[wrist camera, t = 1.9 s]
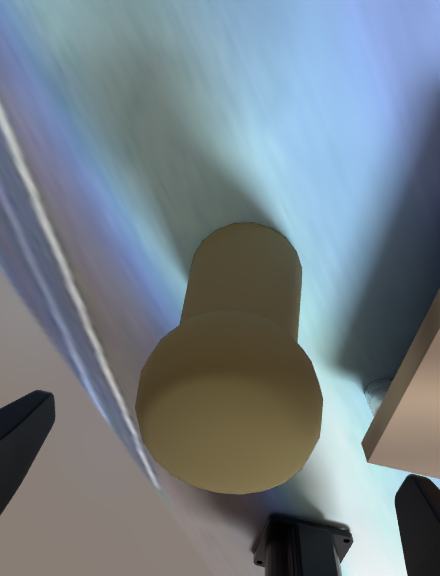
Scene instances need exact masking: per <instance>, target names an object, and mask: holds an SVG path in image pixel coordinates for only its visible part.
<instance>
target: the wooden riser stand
mask: <svg viewBox="0 0 440 576" xmlns="http://www.w3.org/2000/svg"><path fill="white" fill-rule="evenodd" d="M391 383H392V380H389V379H379V380H376V381H373V382H372V383H370V384H369V385H368V386H367V388H366V390H365V397H366V399H367V402H368V404H369V407H370V409H371V412H372V414H373V417H375V415H376V413H377V411H378V409H379V407H380V405H381V403H382V401H383V399H384V397H385V395H386V393H387V391H388V389H389V387H390V385H391Z"/></svg>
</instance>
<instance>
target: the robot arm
mask: <svg viewBox="0 0 440 576" xmlns="http://www.w3.org/2000/svg"><path fill="white" fill-rule="evenodd" d="M54 421H55V401H54V395H53V394H52V393H50V392H46V391H42V390H36V391H33V392H31V393H29V394H27V395H25V396H24V397H21V398H20V399H18V400H16V401H14V402H12V403H10V404H8V405H6V406H4V407H2V408H0V515H1V513H2V512H3V511H4V509H5V508H6V506H7V504H8V503H9V502H10V500H11V499H12V497H13V495H14V494H15V492H16V491H17V489H18V488H19V486H20V485H21V483H22V481H23V479H24V478H25V476H26V474H27V472H28V470H29V468H30V467H31V465H32V463H33V461H34V459H35V457H36V456H37V454H38V452H39V450H40V448H41V446H42V444H43V443H44V441H45V439H46V437H47V435H48V433H49V432H50V430H51V428H52V426H53V424H54ZM395 508H396V514H397V520H398V525H399V531H400V537H401V542H402V548H403V554H404V559H405V565H406V570H407V575H408V576H440V490H439V488H438V487H437V486H436V485H435V484H434V483H433V482H432V481H431V480H430V479H428V478H427V477H424V476H419V475H415V474H410V475H408V476H407V477H406V478H405V480H404V482H403V483H402V485H401V486H400V488H399V490H398V491H397V493H396V496H395ZM352 543H353V537H352V534H351V533H350V532H348V531H343V530H339V529H335V528H331V527H326V526H322V525H318V524H313V523H309V522H305V521H301V520H296V519H292V518H288V517H283V516H279V515H270V516H269V518H268V520H267V523H266V525H265V528H264V530H263V533H262V536H261V538H260V541H259V543H258V546H257V549H256V551H255V554H254V564H256V565H258V566H262V567H265V576H342V572H341V567H340V563H341V562H342V560H343V558H344V557H345V555H346V553H347V552H348V550H349V548H350V547H351V545H352Z"/></svg>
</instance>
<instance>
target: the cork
mask: <svg viewBox="0 0 440 576" xmlns="http://www.w3.org/2000/svg"><path fill="white" fill-rule="evenodd" d="M301 285H302V267H301V264H300V260H299V257H298V254H297V252H296V250H295V249H294V248H293V246H292V245H291V244H290V243H289V241H288V240H287V239H286V238H285V237H284V236H282V235H281V234H279V233H278V232H276V231H275V230H273V229H272V228H270V227H266V226H263V225H259V224H256V223H234V224H231V225H228V226H225V227H223V228H220V229H217V230H216V231H214V232H213V233H212V234H211V235H209V236H208V237H207V238H206V239H204V240H203V241H202V243H201V245H200V246H199V248H198V249H197V251H196V253H195V254H194V257H193V262H192V266H191V271H190V276H189V280H188V285H187V290H186V295H185V300H184V305H183V310H182V315H181V320H180V325H179V326H178V327H176V328H175V329H173V330H172V331H171V332H169V333H168V334H167V335H166V336H165V337H163V338H162V339H161V340H160V342H159V343H158V345H157V346H156V348H155V349H154V351H153V352H152V354H151V355H150V357H149V358H148V360H147V362H146V364H145V365H144V367H143V369H142V371H141V376H140V381H139V387H138V392H137V398H136V405H135V410H136V414H137V419H138V423H139V428H140V432H141V435H142V439H143V442H144V444H145V446H146V447H147V449H148V450H149V452H150V453H151V455H152V457H153V458H154V460H155V461H156V462H158V463H159V464H160V465H161V466H162V467H163V468H164V469H166V470H167V471H168V472H169V473H170V474H171V475H173V476H175V477H177V478H179V479H180V480H182V481H184V482H186V483H188V484H190V485H192V486H195V487H198V488H202V489H205V490H209V491H212V492H216V493H227V494H248V493H255V492H262V491H266V490H268V489H271V488H273V487H276V486H278V485H281V484H283V483H285V482H286V481H288V480H289V479H290V478H291V477H293V476H294V475H295V474H296V473H297V472H299V471H300V470H301V469H302V467H303V466H304V464H305V463H306V461H307V459H308V458H309V456H310V454H311V452H312V451H313V449H314V447H315V445H316V443H317V441H318V440H319V438H320V430H321V420H322V407H323V397H322V393H321V389H320V385H319V382H318V379H317V376H316V373H315V370H314V367H313V365H312V362H311V360H310V359H309V357H308V356H307V354H306V353H305V351H304V350H303V349H302V348H301V347H300V345H299V344H298V343H297V340H298V326H299V312H300V298H301Z"/></svg>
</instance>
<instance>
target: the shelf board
mask: <svg viewBox="0 0 440 576" xmlns="http://www.w3.org/2000/svg"><path fill="white" fill-rule="evenodd" d="M361 444H362V447H363V450H364V453H365V456H366V459H367V463H372V464H376V465H380V466H385V467H389V468H394V469H398V470H403V471H407V472H412V473H416V474H421V475H425V476H430V477H434V478H438V479H440V288H439V290H438V292H437V294H436V296H435V298H434V300H433V302H432V304H431V306H430V308H429V310H428V312H427V314H426V316H425V318H424V320H423V322H422V324H421V326H420V328H419V330H418V332H417V334H416V336H415V338H414V340H413V342H412V344H411V346H410V348H409V350H408V352H407V354H406V356H405V357H404V359H403V361H402V363H401V365H400V367H399V369H398V371H397V373H396V375H395V377H394V379H393V381H392V383H391V385H390V387H389V389H388V391H387V393H386V395H385V397H384V399H383V401H382V403H381V405H380V407H379V409H378V411H377V413H376V415H375V417H374V419H373V421H372V423H371V425H370V427H369V429H368V431H367V433H366V435H365V437H364V439H363V441H362V443H361Z"/></svg>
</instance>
